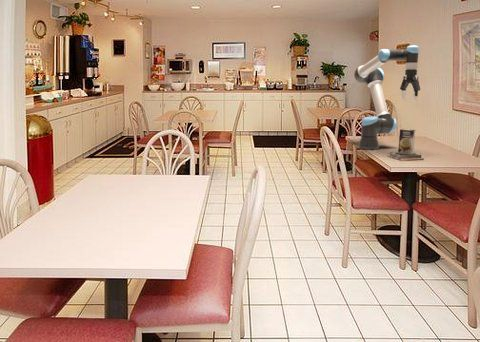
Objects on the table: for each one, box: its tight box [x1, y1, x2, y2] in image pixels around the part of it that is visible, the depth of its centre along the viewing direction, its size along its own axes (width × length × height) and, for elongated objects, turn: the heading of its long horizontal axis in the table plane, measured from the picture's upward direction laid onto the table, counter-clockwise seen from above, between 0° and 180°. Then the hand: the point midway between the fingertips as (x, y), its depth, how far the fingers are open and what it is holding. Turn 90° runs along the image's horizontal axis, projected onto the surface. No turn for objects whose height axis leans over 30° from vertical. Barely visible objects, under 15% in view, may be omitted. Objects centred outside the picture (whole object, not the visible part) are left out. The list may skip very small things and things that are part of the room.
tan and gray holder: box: [387, 151, 425, 162], centre depth 317 cm, size 17×16×3 cm
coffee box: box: [397, 128, 416, 155], centre depth 315 cm, size 9×6×16 cm
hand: (409, 100), depth 330 cm, fingers open, 13 cm apart
